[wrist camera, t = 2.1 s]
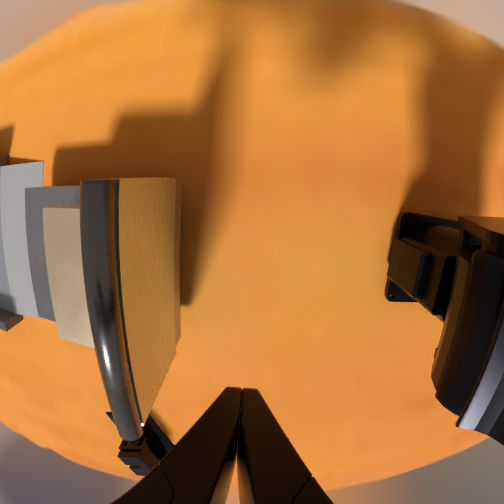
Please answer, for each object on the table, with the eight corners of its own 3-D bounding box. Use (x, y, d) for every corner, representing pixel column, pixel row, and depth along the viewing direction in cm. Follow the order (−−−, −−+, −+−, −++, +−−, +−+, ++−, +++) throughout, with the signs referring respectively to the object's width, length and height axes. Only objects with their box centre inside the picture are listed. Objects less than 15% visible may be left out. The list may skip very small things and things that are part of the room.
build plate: (95, 398, 24) (76, 426, 20) (148, 392, 23) (132, 425, 19) (153, 466, 27) (144, 493, 22) (204, 465, 26) (198, 495, 22)
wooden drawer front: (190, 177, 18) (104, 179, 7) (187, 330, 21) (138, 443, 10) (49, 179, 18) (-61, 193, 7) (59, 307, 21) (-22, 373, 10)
